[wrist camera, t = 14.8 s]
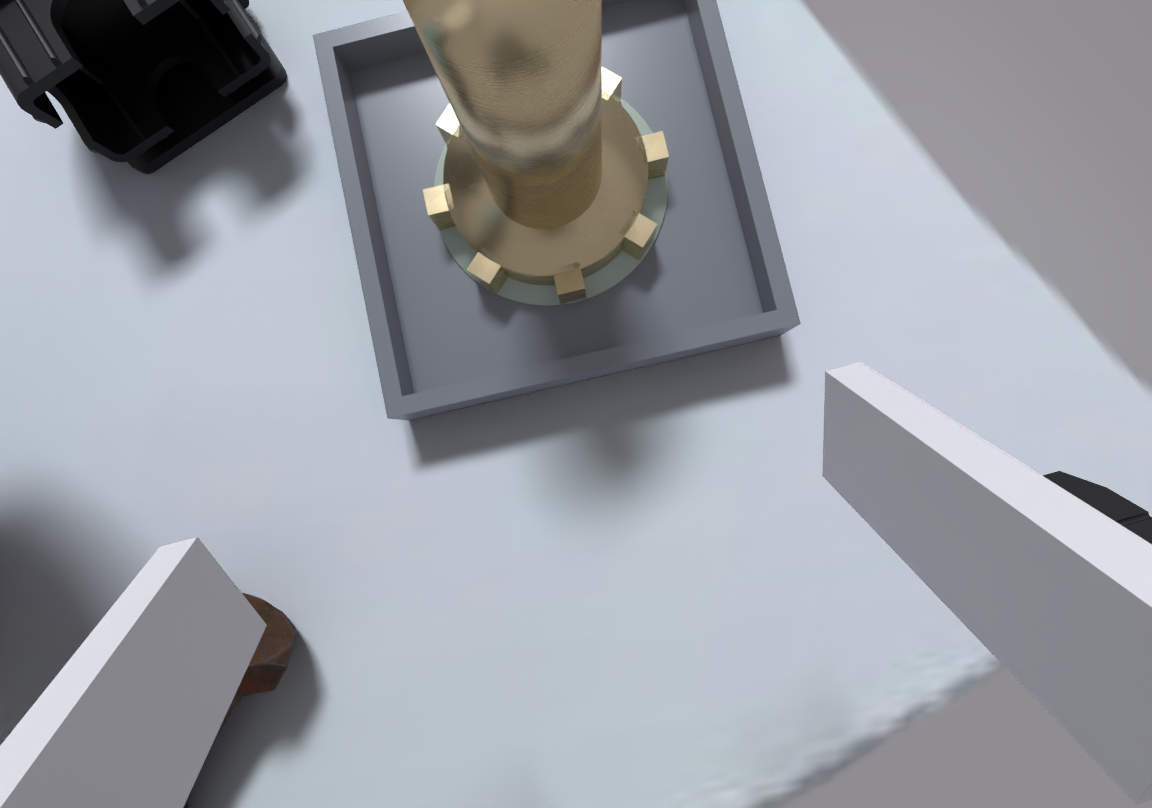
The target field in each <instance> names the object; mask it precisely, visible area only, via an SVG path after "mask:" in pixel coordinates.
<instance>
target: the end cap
mask: <svg viewBox="0 0 1152 808" xmlns="http://www.w3.org/2000/svg"><path fill="white" fill-rule="evenodd" d="M248 6H249V0H0V75H1V76H2V78H3V80H4V81H5V83H6V85H7V87H8V88H9V90H10V92H11V93H12V95H13V97H14V98H15V100H16V102H17V103H18V105H19V106H20V107H21V109H23V110H24V111H26V112H27V113H29V114H31V115H32V116H33V118H34V119H35V120H37V121H39V122H43V123H47V124H48V125H50V126H52V127H54V128H55V129H56V128H57V127H59V126H60V125H62V124H63V122H62V120H61V118H60V117H59V115H58V113H57V112H56V110H55V108H54V107H53V105H52V103H51V102H50V100H49V98H48V97H47V95H46V93H45V92H46V91H48V92H49V93H50V94H52V95H53V96H54V97H55V98H56V99H57V100H58V101H59V103H60V104H61V105H62V107H63V108H64V110H65V112H66V113H67V115H68V117H69V118H70V120H71V122H72V123H73V125H74V127H75V128H76V130H77V132H78V133H79V135H80V137H81V138H82V140H83V142H84V143H85V145H86V146H87V147H88V148H89V150H90V151H92V152H96V153H100V154H102V155H103V156H105V157H107V158H109V159H111V160H113V161H116V162H127V161H128V163H129V164H130V165H131V166H132V167H133V168H134V169H136V170H138V171H140V172H141V173H145V174H150V173H153V172H155V171H156V170H158V169H159V168H160V167H162V166H163V165H165V164H166V163H168V162H169V161H171V160H172V159H174V158H175V157H177V156H178V155H180V154H181V153H183V152H184V151H186V150H187V149H189V148H190V147H192V146H193V145H194V144H196V143H197V142H199V141H200V140H202V139H203V138H205V137H206V136H208V135H209V134H211V133H212V132H214V131H215V130H217V129H218V128H220V127H221V126H223V125H224V124H225V123H227V122H228V121H230V120H231V119H233V118H234V117H236V116H237V115H239V114H240V113H242V112H243V111H245V110H246V109H248V108H249V107H251V106H252V105H254V104H255V103H256V102H258V101H259V100H261V99H262V98H264V97H265V96H267V95H268V94H270V93H271V92H273V91H274V90H276V89H277V88H279V87H280V86H282V85H283V83H284V82H285V81H286V77H287V74H286V71H285V69H284V67H283V66H282V64H281V63H280V61H279V60H278V58H277V57H276V55H275V54H274V52H273V51H272V49H271V48H270V46H269V44H268V43H267V41H266V40H265V38H264V37H263V35H262V34H261V32H260V31H259V29H258V28H257V26H256V25H255V23H254V21H253V20H252V19H251V17H250V16H249V14H248V13H247V11H246V10H245V8H247V7H248Z"/></svg>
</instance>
